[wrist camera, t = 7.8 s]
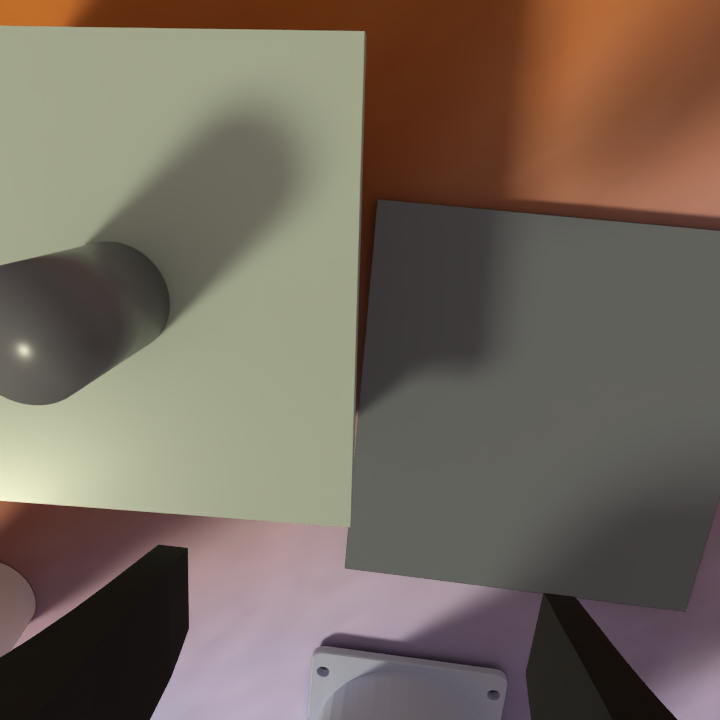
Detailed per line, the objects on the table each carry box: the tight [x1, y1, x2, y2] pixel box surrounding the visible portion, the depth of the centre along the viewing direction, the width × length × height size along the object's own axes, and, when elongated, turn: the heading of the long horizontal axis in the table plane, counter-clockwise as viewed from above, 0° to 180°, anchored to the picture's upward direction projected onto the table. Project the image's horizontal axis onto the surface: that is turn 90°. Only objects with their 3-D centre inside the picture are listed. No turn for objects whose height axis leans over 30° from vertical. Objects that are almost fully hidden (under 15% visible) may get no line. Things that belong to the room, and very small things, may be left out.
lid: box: [0, 26, 367, 527], centre depth 15 cm, size 13×13×5 cm
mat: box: [345, 199, 720, 612], centre depth 21 cm, size 14×13×1 cm
